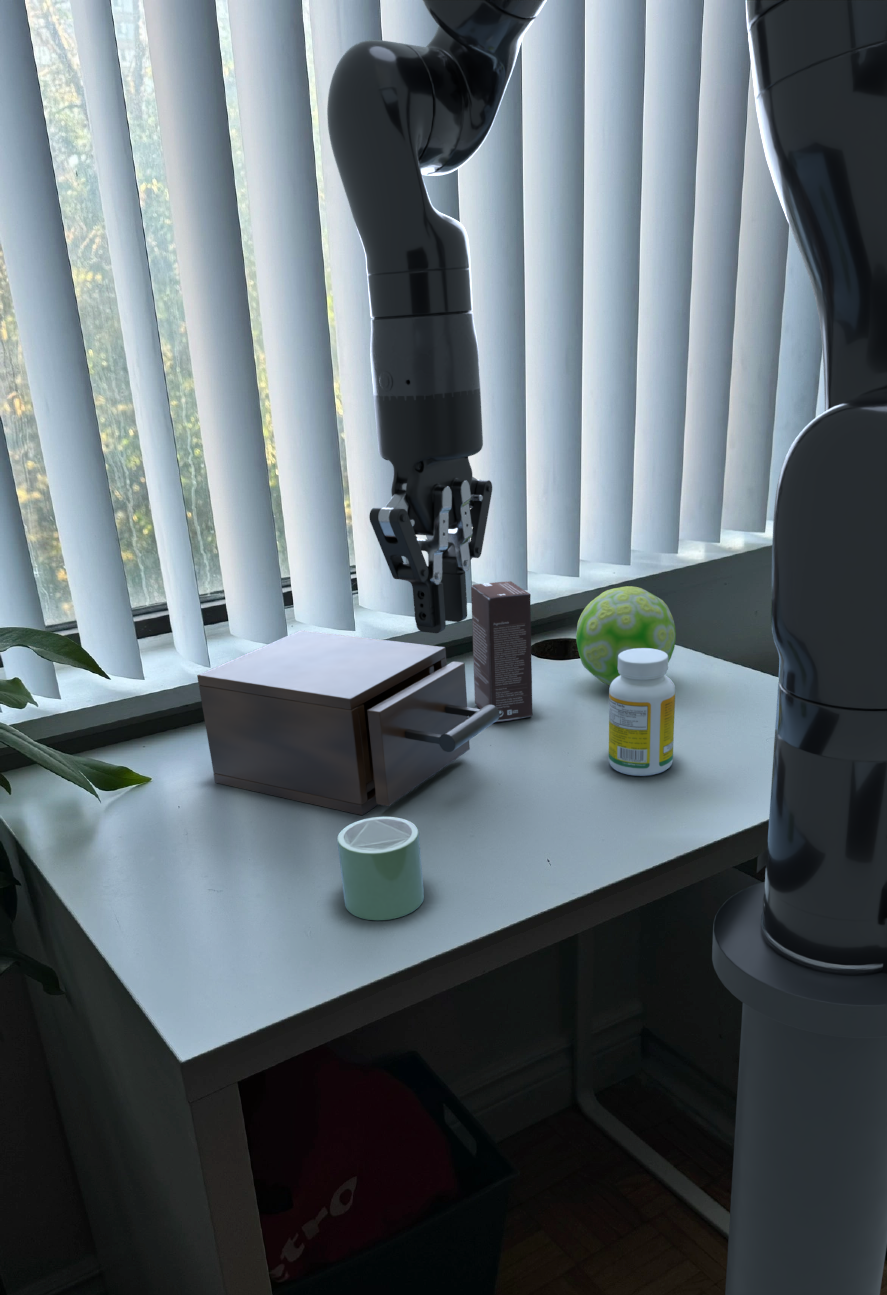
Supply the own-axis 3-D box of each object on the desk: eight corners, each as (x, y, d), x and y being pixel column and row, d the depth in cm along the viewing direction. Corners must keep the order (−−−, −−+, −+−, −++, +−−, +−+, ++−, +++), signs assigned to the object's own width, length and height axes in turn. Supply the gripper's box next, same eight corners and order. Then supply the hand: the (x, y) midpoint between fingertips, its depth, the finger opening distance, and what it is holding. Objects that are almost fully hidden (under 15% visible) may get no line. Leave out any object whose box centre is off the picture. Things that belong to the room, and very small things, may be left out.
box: (536, 717, 103) (532, 592, 98) (490, 724, 102) (484, 598, 97) (516, 697, 108) (512, 578, 103) (473, 703, 107) (466, 584, 102)
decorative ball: (556, 686, 110) (554, 589, 106) (626, 663, 115) (626, 570, 111) (626, 709, 103) (626, 607, 99) (697, 684, 108) (700, 585, 104)
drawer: (518, 757, 91) (514, 668, 88) (440, 817, 82) (432, 720, 79) (336, 726, 101) (327, 645, 98) (247, 776, 92) (233, 688, 88)
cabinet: (452, 753, 96) (445, 647, 92) (362, 815, 85) (350, 699, 81) (313, 728, 104) (300, 629, 100) (214, 782, 93) (196, 675, 89)
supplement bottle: (623, 781, 88) (623, 669, 84) (599, 757, 93) (598, 650, 89) (684, 771, 89) (687, 660, 85) (657, 748, 94) (659, 642, 90)
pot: (439, 890, 74) (434, 825, 72) (395, 928, 70) (388, 860, 68) (374, 873, 77) (368, 810, 74) (328, 909, 72) (320, 843, 70)
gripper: (416, 395, 68) (435, 657, 75) (520, 375, 79) (528, 606, 86) (323, 397, 72) (349, 646, 79) (434, 377, 83) (448, 598, 90)
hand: (442, 624), depth 83 cm, fingers closed
